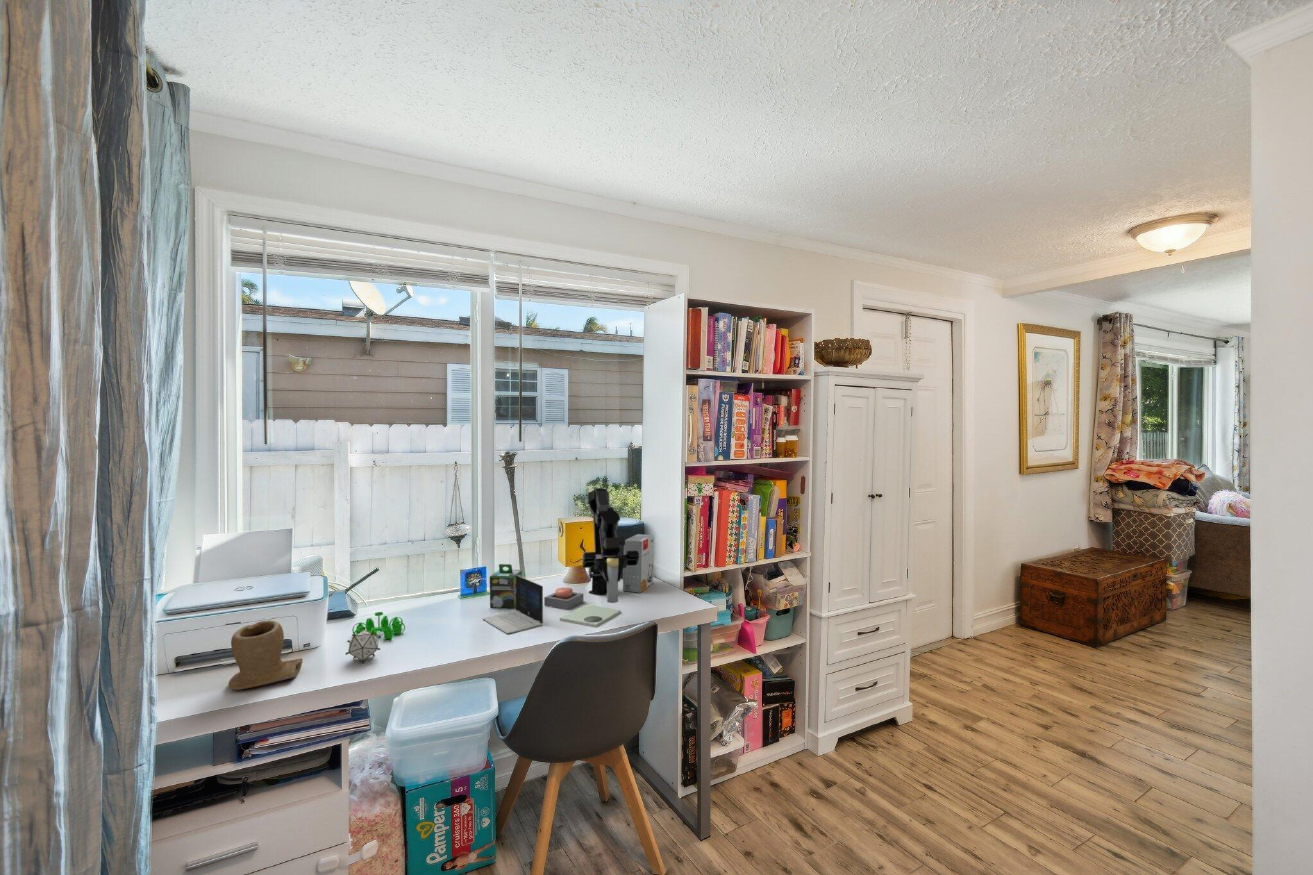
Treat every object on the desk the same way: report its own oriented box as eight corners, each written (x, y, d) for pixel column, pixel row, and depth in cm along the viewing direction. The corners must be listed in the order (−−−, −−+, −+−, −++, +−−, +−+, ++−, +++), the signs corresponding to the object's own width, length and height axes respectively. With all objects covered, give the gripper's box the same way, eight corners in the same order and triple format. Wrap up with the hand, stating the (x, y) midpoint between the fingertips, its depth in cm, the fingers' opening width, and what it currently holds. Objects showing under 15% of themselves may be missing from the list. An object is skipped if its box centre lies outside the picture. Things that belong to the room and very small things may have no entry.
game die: (358, 676, 152) (334, 654, 147) (360, 654, 159) (338, 632, 154) (389, 658, 154) (366, 635, 149) (390, 636, 161) (368, 614, 156)
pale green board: (586, 606, 200) (586, 604, 200) (620, 612, 194) (620, 610, 194) (559, 620, 186) (559, 617, 186) (595, 627, 180) (595, 624, 180)
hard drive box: (640, 593, 217) (641, 541, 216) (622, 591, 219) (622, 540, 219) (654, 583, 231) (654, 534, 231) (636, 581, 234) (636, 533, 233)
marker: (611, 598, 188) (612, 557, 188) (620, 600, 186) (620, 558, 186) (604, 601, 185) (604, 559, 185) (613, 603, 183) (613, 560, 183)
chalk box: (523, 600, 207) (523, 560, 206) (514, 609, 197) (514, 566, 197) (498, 600, 208) (498, 560, 207) (488, 608, 198) (488, 566, 198)
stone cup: (225, 700, 131) (224, 636, 131) (231, 680, 141) (230, 620, 141) (302, 684, 139) (301, 624, 139) (302, 667, 149) (302, 610, 149)
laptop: (482, 620, 186) (482, 581, 186) (516, 612, 195) (516, 574, 195) (507, 635, 173) (507, 593, 173) (543, 626, 181) (543, 585, 181)
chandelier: (342, 646, 164) (342, 622, 164) (361, 628, 179) (361, 606, 178) (397, 643, 166) (397, 620, 166) (411, 625, 181) (411, 604, 181)
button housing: (560, 597, 210) (560, 589, 210) (583, 601, 206) (583, 593, 206) (544, 605, 201) (544, 597, 201) (567, 609, 197) (567, 601, 197)
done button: (562, 593, 207) (562, 586, 207) (575, 595, 205) (575, 588, 205) (552, 597, 202) (552, 590, 202) (566, 600, 199) (566, 593, 199)
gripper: (583, 528, 187) (586, 569, 176) (638, 526, 191) (644, 566, 181) (580, 546, 195) (583, 587, 184) (634, 544, 199) (639, 584, 188)
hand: (613, 581), depth 184 cm, fingers closed on marker, 4 cm apart
